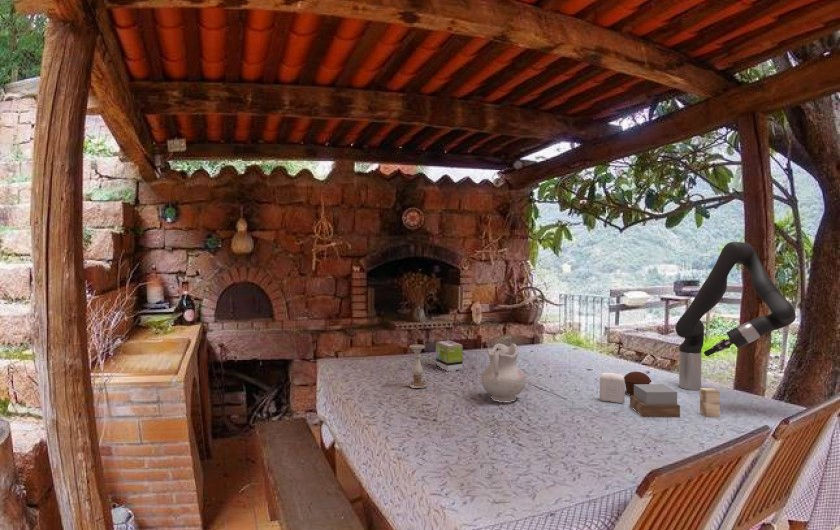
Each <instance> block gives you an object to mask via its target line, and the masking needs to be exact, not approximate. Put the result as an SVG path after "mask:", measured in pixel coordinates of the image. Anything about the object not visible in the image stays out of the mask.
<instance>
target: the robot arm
mask: <svg viewBox="0 0 840 530" xmlns="http://www.w3.org/2000/svg"><path fill="white" fill-rule="evenodd" d="M736 264H741V265H742V266H743V267H744V268H745V269H746V270H747V272H748V274H749V276H750V280H751V284H752V287H753V289H754V291H755V292H756V294H757V296H758V297H759V298H760V300H761V301H762V303H764V304H765V305H767V307H768V309H769V310H770V312H771V313H770V314H767V315H765V316H763V315H760V316H757V317H755V318H752V319H751V320H749V321H747V322H745V323H743V324H740V325H737V326H736V327H734V328H732V329H731V330H728V331H726V336H728V339H725V338H723V339H721V340H719V342H717V343H715V344H714V345H713V346H712V347H711V348H708V349H706V350H705V351H703V354H704V355H705V357H710V356H712V355H713V354H715V353H718V352H723V351H725V350H728V349H730V348H731V346H732V345H734V346H735V347H736V349H741V348H743V347H745V346H747V345H748V344H750V343H753V342H755V341H756V340H757V339H759V338H760V337H763V336H765V335H766V334H769V333H770V332H772V331H777V330H779V329H782V328H785V327H787V326H790V325H791V324H793V323H794V322H795V320H796V317H797V315H796V310H795V308H794V306H793V305H792V304H791V302H790V301H788V299H787V298H786V297H785V296H784V295H783V294H782V293H781V291H780V290H779V288H778V287H777V286H776V284H775V283H774V282H773V280H772V279H771V278H770V276H769V274H768V273H767V272H766V269H765V267H764V265H763V264H762V262H761V260H760V258H759V256H758V254H757V252H756V250H755V248H754V247H753V246H752V245H751V244H750V243H749V242H744V241H743V242H742V241H741V242H740V241H730V242H727V243H726V244H725V245H724V246H723V248H722V250H721V252H720V254H719V256H718V258H717V260H716V262H715V264H714V266H713V268H712V269H711V271H710V273H709V275H708V276H707V278H705V281H704V282H703V284H702V285H701V287H700V289H699V290H698V292H697V294H696V295H695V297H694V299H693V300H692V301H691V303H690V305H689V306H688V308H687V309H686V311H685V312H684V313H683V314H682V315H681V317H680V318H679V319H678V321H677V322H676V325H675V332H676V335H677V336H679V337H680V338H682V339H683V338H684V340H683V342H681V344H680V345H679V346H678V347H679V348H678V351H679V352H678V353H679V354H678V357H679V362H678V363H679V366H678V387H680V389H684V390H689V391H690V390H691V391H700V388H702V349H703V346H704V340H705V339H704V337H705V327H704V324H703V322H702V320H701V319H702V318H703V317H704V316H705V315H706V314H707V313H708V312H710V311H711V310H712V309H713V308H715V307H716V306H717V305H718V304H719V303H720V301H721V299H722V298H723V297H724V295H725V293H726V292H727V289H728V288H727V287H728V277H729V274H730V272H731V270H733V268H734V267H735V265H736Z"/></svg>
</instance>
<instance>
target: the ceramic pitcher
mask: <svg viewBox="0 0 840 530" xmlns="http://www.w3.org/2000/svg"><path fill="white" fill-rule="evenodd" d="M486 351H487V356H488V358H489V366H488V367H487V368H486V369H485V370H483V371H482V373H481V376H480V380H481V384H482V387H483V389H484V390H485V392H486V393H487V394H489V395H491V396H490V397H492V398H493V399H495V400H499V401H511V400H516V398H517V397H516V396H517V395H519V394H520V393H522V392H523V390H524V389H525V385H526V375H525V373H524V371H522V370H521V369H520V368H519V367H518V366H517V357H518V355H519V350H518V345H517V344H516V343H513V342H511V343H510V346H507V345H505V344H502V343H496V344H494V345H493V346H492V349H487V350H486ZM516 401H517V400H516Z"/></svg>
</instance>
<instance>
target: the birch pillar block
mask: <svg viewBox="0 0 840 530" xmlns="http://www.w3.org/2000/svg"><path fill="white" fill-rule="evenodd" d="M720 405H721V391H720V390H718V389H715V388H714V387H701V388H700V390H699V414H701V415H703V416H705V417H706V418H720V416H721V413H720V410H721V409H720V408H721V407H720Z"/></svg>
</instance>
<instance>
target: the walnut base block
mask: <svg viewBox="0 0 840 530" xmlns="http://www.w3.org/2000/svg"><path fill="white" fill-rule="evenodd" d="M630 406H631V407H630ZM629 407H630V408H631V409H633V408H634V409H635V410H636V413H638V412H639V413H640V414H641V415H640V414H639V413H638V414H639V415H640V416H641V417H643V418H681V405H679V403H677V405H646V404H645V403H643V402H642V401H640V400H639V399H637V398H636V397H634V395H629ZM634 409H633V410H634ZM635 410H634V411H635Z"/></svg>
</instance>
